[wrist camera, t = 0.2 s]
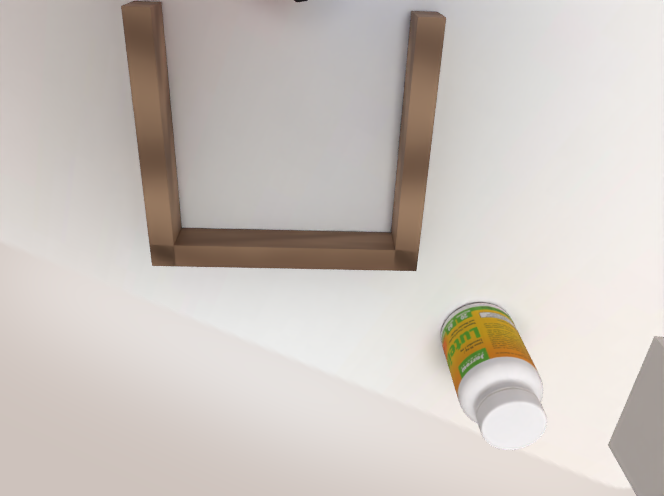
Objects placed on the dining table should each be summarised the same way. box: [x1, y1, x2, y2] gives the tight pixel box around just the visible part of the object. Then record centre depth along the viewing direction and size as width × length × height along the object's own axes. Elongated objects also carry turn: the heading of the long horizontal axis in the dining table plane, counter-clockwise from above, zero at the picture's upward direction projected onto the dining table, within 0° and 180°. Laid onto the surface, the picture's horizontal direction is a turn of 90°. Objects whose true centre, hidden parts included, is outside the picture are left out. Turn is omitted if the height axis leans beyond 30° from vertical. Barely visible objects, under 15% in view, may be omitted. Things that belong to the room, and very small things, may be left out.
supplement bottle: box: [441, 303, 547, 450], centre depth 40 cm, size 5×5×10 cm
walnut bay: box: [121, 1, 446, 271], centre depth 36 cm, size 16×17×2 cm
